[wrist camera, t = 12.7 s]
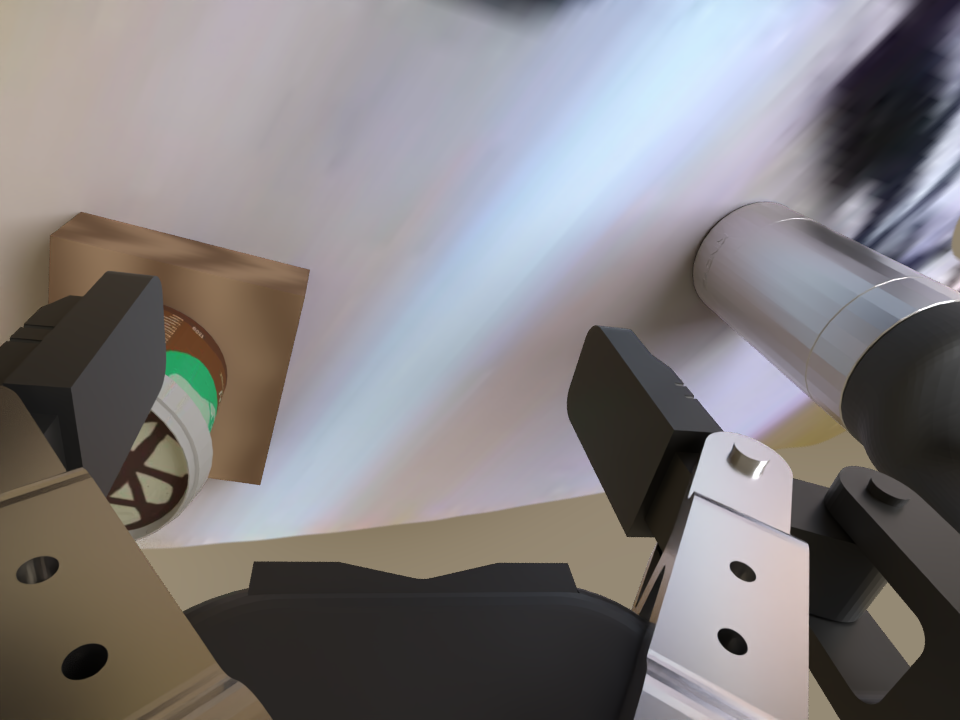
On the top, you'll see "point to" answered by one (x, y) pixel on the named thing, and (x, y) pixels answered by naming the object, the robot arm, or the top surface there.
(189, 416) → the food container
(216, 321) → the walnut block
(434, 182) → the top surface
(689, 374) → the top surface
